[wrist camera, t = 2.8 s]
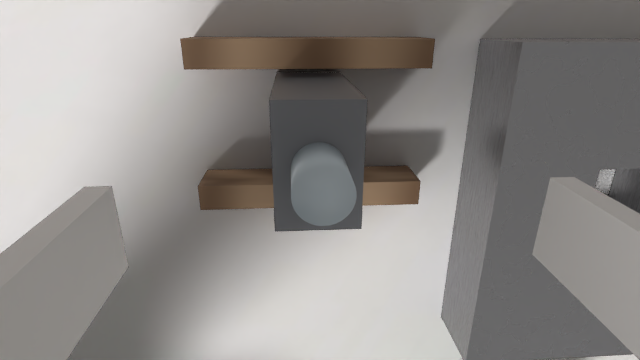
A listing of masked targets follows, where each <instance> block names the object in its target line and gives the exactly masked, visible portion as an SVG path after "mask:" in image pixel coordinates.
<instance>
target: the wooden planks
mask: <svg viewBox="0 0 640 360" xmlns="http://www.w3.org/2000/svg"><path fill="white" fill-rule="evenodd" d="M434 43H435V39H432V38H422V37H189V38H182V39H181V47H182V56H183V64H184V69H379V68H432V63H433V53H434ZM419 190H420V180H419V179H418V178H417V177H416V175H415V174H414V173H413V172H412V170H411V169H410V168H409V167H408V166H371V167H364V183H363V204H362V205H398V204H418V200H419ZM198 192H199V200H200V209H201V210H215V209H252V208H274V198H273V175H272V169H227V170H207V171H206V173H205V175H204V177H203V178H202V180H201V182H200V184H199V185H198Z"/></svg>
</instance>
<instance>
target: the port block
mask: <svg viewBox="0 0 640 360" xmlns="http://www.w3.org/2000/svg"><path fill="white" fill-rule="evenodd" d="M600 169H616V172H615V175H614V178H613V182H612V185H611V189H610V192H609V197H611V198H613V199H614V200H616V201H618V202H620V203H621V204H623V205H625V206H627V207H629V208H630V209H632V210H634V211H636V212H638V213H639V214H640V39H480V44H479V51H478V58H477V65H476V72H475V79H474V86H473V93H472V100H471V107H470V114H469V122H468V129H467V136H466V143H465V150H464V157H463V164H462V171H461V178H460V185H459V192H458V200H457V207H456V214H455V221H454V228H453V235H452V242H451V249H450V256H449V263H448V270H447V278H446V285H445V292H444V299H443V306H442V313H441V317H442V319H443V321H444V323H445V325H446V327H447V329H448V331H449V333H450V335H451V337H452V339H453V341H454V342H455V344H456V346H457V348H458V350H459V352H460V354H461V356H462V358H463V360H538V359H557V358H575V357H593V356H612V355H630V354H633V353H632V352H631V351H630V350H629V349H628V348H627V347H626V346H625V345H624V344H623V343H622V342H621V341H620V340H619V339H618V338H617V337H616V336H615V335H614V334H613V333H612V332H611V331H610V330H609V329H608V328H607V327H606V326H605V325H603V324H602V323H601V322H600V321H599V320H598V319H597V318H596V317H595V316H594V315H593V314H592V313H591V312H590V311H589V310H588V309H587V308H586V307H585V306H584V305H583V304H582V303H581V302H580V301H579V300H578V299H577V298H576V297H575V296H574V295H573V294H572V293H571V292H570V291H569V290H568V289H567V288H566V287H565V286H564V285H563V284H562V283H561V282H560V281H559V280H558V279H557V278H556V277H555V276H554V275H553V274H552V273H551V272H550V271H549V270H548V269H547V268H546V267H545V266H544V265H543V264H542V263H541V262H540V261H538V260H537V259H536V258H535V257H534V256H533V255H532V253H533V249H534V244H535V240H536V236H537V232H538V227H539V223H540V219H541V215H542V210H543V206H544V202H545V198H546V194H547V189H548V185H549V181H550V177H575V178H577V179H579V180H581V181H582V182H584V183H586V184H588V185H589V186H591V187H593V188H595V185H596V181H597V178H598V174H599V170H600Z"/></svg>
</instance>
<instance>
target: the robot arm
mask: <svg viewBox="0 0 640 360" xmlns="http://www.w3.org/2000/svg"><path fill="white" fill-rule="evenodd" d="M532 255H533V256H534V257H535V258H536V259H537V260H538V261H540V262H541V263H542V264H543V265H544V266H545V267H546V268H547V269H548V270H549V271H550V272H551V273H552V274H553V275H554V276H555V277H556V278H557V279H558V280H559V281H560V282H561V283H562V284H563V285H564V286H565V287H566V288H567V289H568V290H569V291H570V292H571V293H572V294H573V295H574V296H575V297H576V298H577V299H578V300H579V301H580V302H581V303H582V304H583V305H584V306H585V307H586V308H587V309H588V310H589V311H590V312H591V313H592V314H593V315H594V316H595V317H596V318H597V319H598V320H599V321H600V322H601V323H602V324H603V325H605V326H606V327H607V328H608V329H609V330H610V331H611V332H612V333H613V334H614V335H615V336H616V337H617V338H618V339H619V340H620V341H621V342H622V343H623V344H624V345H625V346H626V347H627V348H628V349H629V350H630V351H631V352H632V353H633V354H634V355H635V356H636V357H637V358H638V359H639V360H640V214H639V213H638V212H636V211H634V210H632V209H630V208H629V207H627V206H625V205H623V204H621V203H620V202H618V201H616V200H614V199H613V198H611V197H609V196H607V195H605V194H604V193H602V192H600V191H598V190H597V189H595V188H593V187H591V186H589V185H588V184H586V183H584V182H582V181H581V180H579V179H577V178H575V177H550V181H549V185H548V189H547V194H546V198H545V202H544V206H543V210H542V215H541V219H540V223H539V227H538V232H537V236H536V240H535V244H534V249H533V253H532ZM128 267H129V266H128V261H127V257H126V252H125V247H124V242H123V237H122V233H121V228H120V223H119V218H118V213H117V209H116V204H115V199H114V194H113V189H112V186H98V187H84V188H82V189H81V190H80V191H79V192H77V193H76V194H75V195H74V196H72V197H71V198H70V199H69V200H67V201H66V202H65V203H63V204H62V205H61V206H60V207H58V208H57V209H56V210H55V211H53V212H52V213H51V214H50V215H48V216H47V217H46V218H45V219H43V220H42V221H41V222H40V223H38V224H37V225H36V226H35V227H33V228H32V229H31V230H30V231H28V232H27V233H26V234H25V235H23V236H22V237H21V238H20V239H18V240H17V241H16V242H15V243H13V244H12V245H11V246H10V247H8V248H7V249H6V250H5V251H3V252H2V253H1V254H0V360H67V359H68V357H69V356H70V354H71V353H72V351H73V350H74V348H75V347H76V345H77V344H78V342H79V341H80V339H81V338H82V336H83V335H84V333H85V332H86V330H87V329H88V327H89V326H90V324H91V323H92V321H93V320H94V318H95V317H96V315H97V314H98V312H99V311H100V309H101V308H102V306H103V305H104V303H105V302H106V300H107V299H108V297H109V296H110V294H111V293H112V291H113V290H114V288H115V287H116V285H117V284H118V282H119V281H120V279H121V278H122V276H123V275H124V273H125V272H126V270H127V269H128Z"/></svg>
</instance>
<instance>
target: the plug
mask: <svg viewBox="0 0 640 360" xmlns="http://www.w3.org/2000/svg"><path fill="white" fill-rule="evenodd" d="M269 106H270V129H271V152H272V175H273V198H274V221H275V231H304V230H336V229H361V226H362V204H363V183H364V161H365V139H366V117H367V98H366V97H365V96H364V95H363V94H362V93H361V92H360V91H359V90H358V89H357V88H356V87H354V86H353V85H352V84H351V83H350V82H349V81H348V80H347V79H346V78H345V77H344V76H343V75H342V74H341V73H340V72H277V74H276V77H275V81H274V85H273V88H272V92H271V95H270V99H269Z"/></svg>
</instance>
